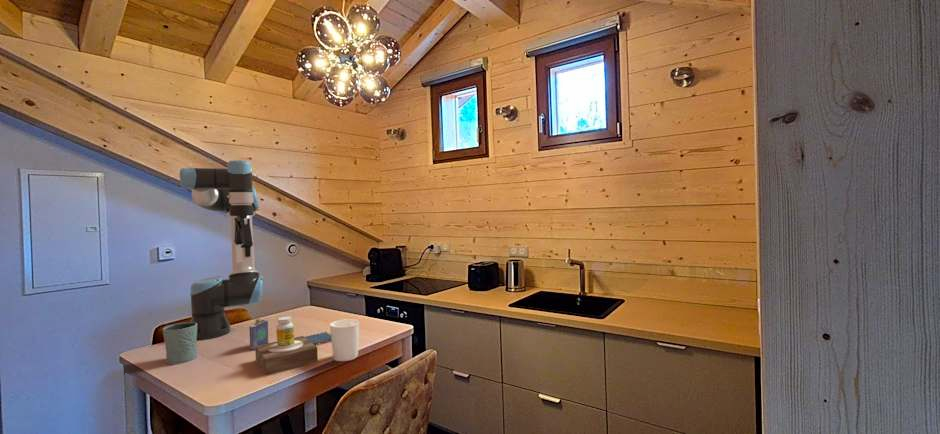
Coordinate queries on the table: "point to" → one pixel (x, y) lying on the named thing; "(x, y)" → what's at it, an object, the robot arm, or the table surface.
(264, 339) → the flask
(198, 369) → the table surface
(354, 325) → the candle holder
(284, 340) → the supplement bottle
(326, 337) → the woven mat
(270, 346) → the walnut plinth
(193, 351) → the green cylinder
